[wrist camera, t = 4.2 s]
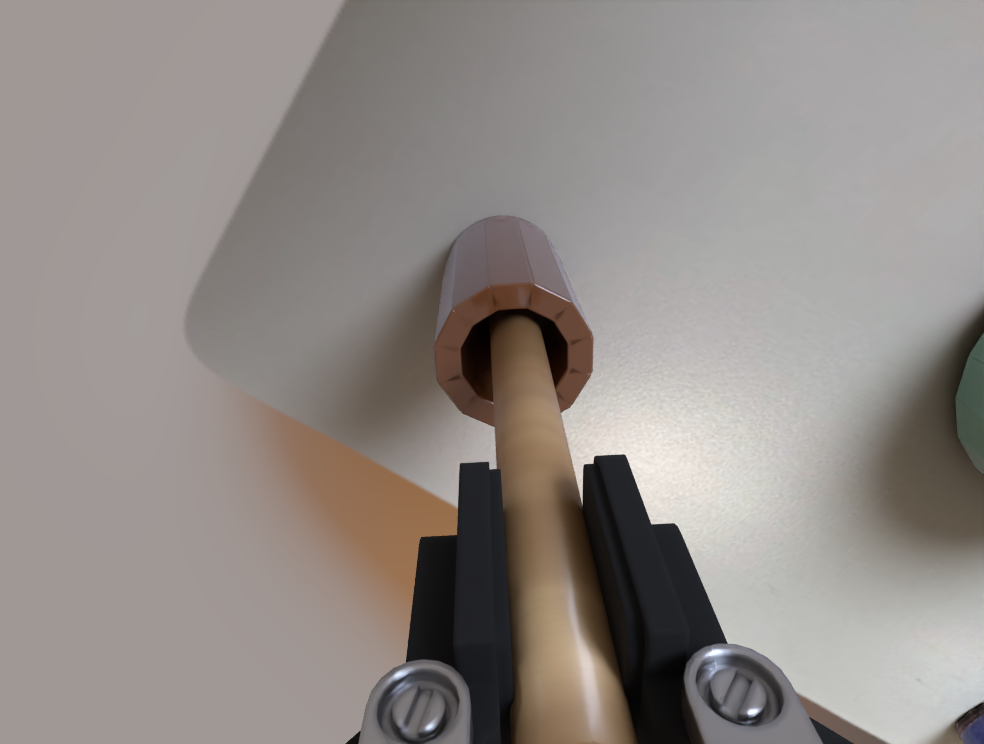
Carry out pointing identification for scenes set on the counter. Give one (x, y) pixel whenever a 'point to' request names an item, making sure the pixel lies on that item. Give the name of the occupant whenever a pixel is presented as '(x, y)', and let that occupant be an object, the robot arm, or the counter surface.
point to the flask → (972, 726)
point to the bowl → (972, 406)
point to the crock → (504, 286)
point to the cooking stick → (549, 558)
